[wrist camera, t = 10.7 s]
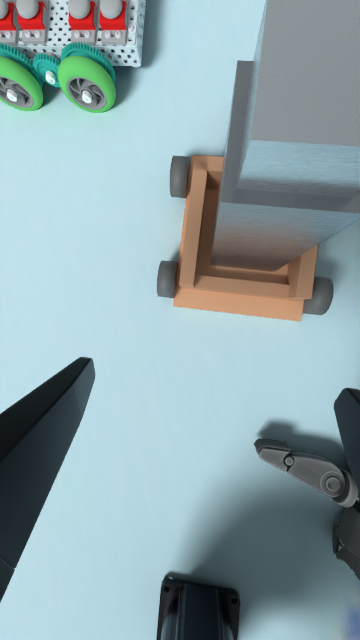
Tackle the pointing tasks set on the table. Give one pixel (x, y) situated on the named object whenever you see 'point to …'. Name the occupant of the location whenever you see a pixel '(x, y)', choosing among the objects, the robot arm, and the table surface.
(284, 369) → the table surface
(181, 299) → the wheeled chassis
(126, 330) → the table surface
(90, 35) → the robot kit
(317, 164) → the grey stepped cuboid
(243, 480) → the table surface
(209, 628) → the robot arm
